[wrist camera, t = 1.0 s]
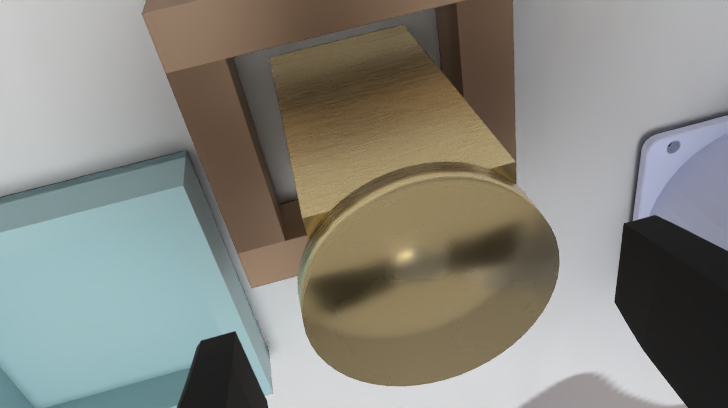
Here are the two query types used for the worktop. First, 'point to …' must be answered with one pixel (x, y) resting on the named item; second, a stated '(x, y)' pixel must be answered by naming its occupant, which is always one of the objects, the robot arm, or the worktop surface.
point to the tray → (115, 290)
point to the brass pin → (406, 215)
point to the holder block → (287, 25)
